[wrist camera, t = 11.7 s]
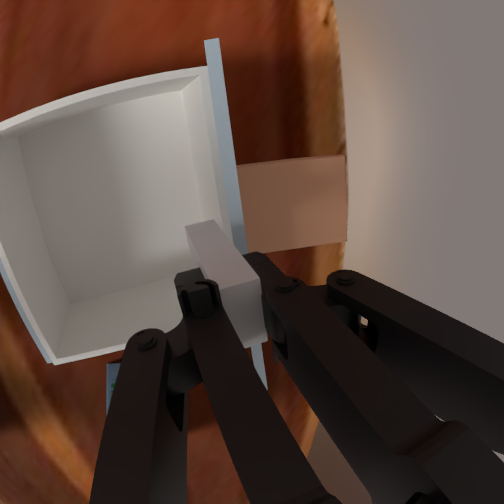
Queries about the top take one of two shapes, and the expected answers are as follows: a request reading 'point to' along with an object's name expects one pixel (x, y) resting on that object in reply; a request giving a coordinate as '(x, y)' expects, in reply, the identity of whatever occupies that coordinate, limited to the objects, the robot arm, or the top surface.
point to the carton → (107, 209)
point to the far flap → (276, 192)
